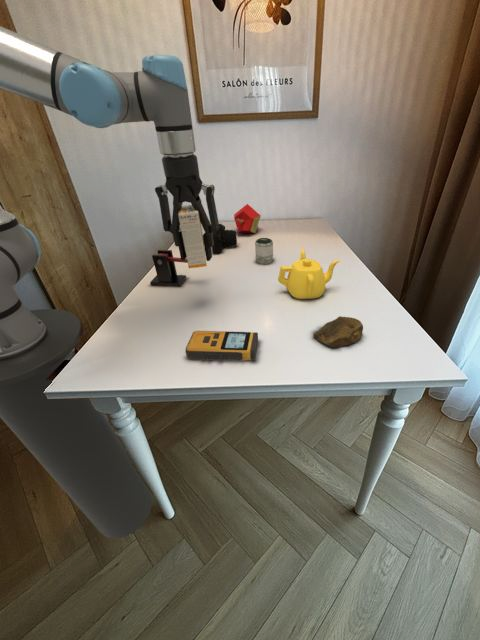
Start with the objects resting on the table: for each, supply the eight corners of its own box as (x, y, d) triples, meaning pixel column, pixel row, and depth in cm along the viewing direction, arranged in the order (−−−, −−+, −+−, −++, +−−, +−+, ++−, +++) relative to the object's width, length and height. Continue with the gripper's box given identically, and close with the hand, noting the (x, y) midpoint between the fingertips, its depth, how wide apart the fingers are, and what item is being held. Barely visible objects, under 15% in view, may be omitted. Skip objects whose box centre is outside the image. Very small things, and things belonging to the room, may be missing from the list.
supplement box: (207, 266, 79) (199, 212, 70) (188, 269, 78) (177, 214, 70) (205, 254, 85) (197, 203, 77) (188, 256, 84) (178, 205, 76)
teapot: (337, 290, 94) (341, 258, 87) (310, 307, 86) (312, 274, 80) (300, 277, 101) (302, 247, 95) (273, 292, 94) (273, 260, 88)
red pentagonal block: (265, 231, 142) (256, 235, 129) (240, 232, 145) (228, 235, 132) (264, 202, 137) (254, 203, 124) (238, 204, 140) (226, 204, 127)
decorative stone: (336, 354, 70) (338, 342, 68) (307, 335, 76) (308, 323, 74) (366, 337, 75) (369, 325, 72) (337, 320, 81) (338, 308, 78)
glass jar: (270, 265, 109) (270, 243, 104) (253, 264, 111) (252, 242, 106) (275, 258, 114) (274, 237, 109) (258, 257, 115) (257, 236, 111)
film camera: (235, 253, 119) (233, 229, 113) (210, 254, 119) (207, 230, 113) (237, 240, 131) (235, 217, 125) (214, 241, 131) (212, 218, 125)
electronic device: (195, 339, 76) (193, 328, 74) (258, 340, 75) (257, 329, 73) (186, 361, 70) (183, 349, 68) (254, 363, 68) (254, 351, 66)
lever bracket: (186, 278, 103) (180, 249, 97) (180, 286, 99) (173, 257, 92) (158, 277, 105) (150, 248, 98) (150, 285, 100) (142, 256, 94)
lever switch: (205, 262, 98) (204, 255, 97) (200, 269, 94) (199, 261, 93) (162, 258, 99) (161, 251, 98) (156, 265, 96) (155, 257, 94)
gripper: (226, 151, 68) (235, 253, 82) (144, 153, 71) (167, 252, 85) (217, 156, 62) (229, 265, 77) (129, 158, 65) (156, 263, 79)
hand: (196, 258), depth 81 cm, fingers closed on supplement box, 6 cm apart
